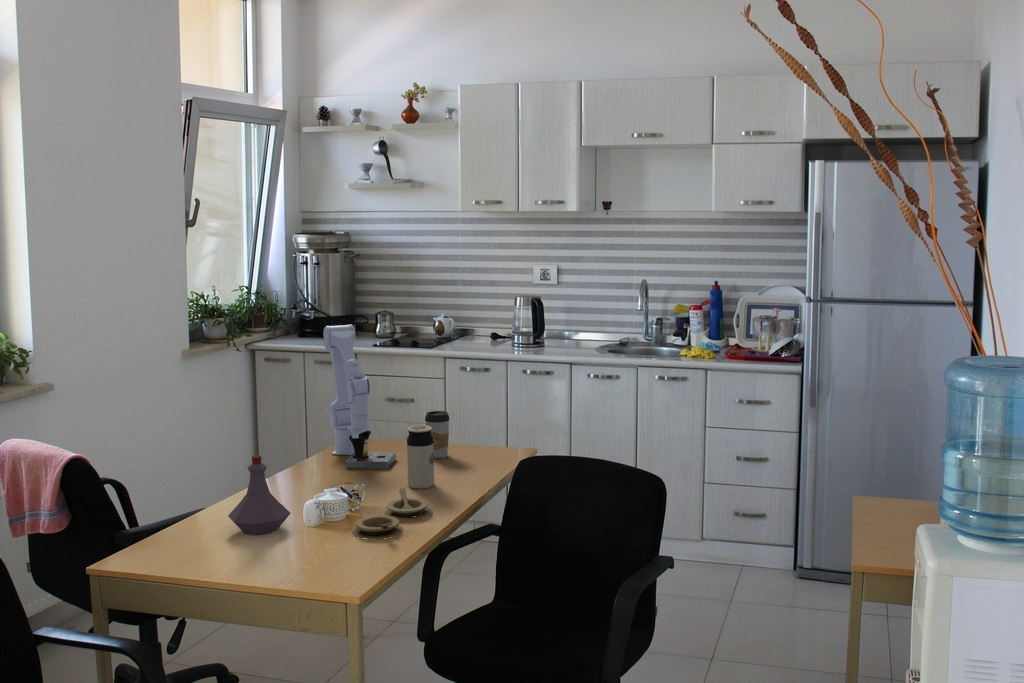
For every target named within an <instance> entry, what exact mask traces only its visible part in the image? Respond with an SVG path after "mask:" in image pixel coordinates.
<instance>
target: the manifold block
mask: <svg viewBox="0 0 1024 683" xmlns="http://www.w3.org/2000/svg"><path fill="white" fill-rule="evenodd" d="M396 454H397V453H396V452H386V451H385V452H382V451H381V452H380V451H379V452H378V451H377V452H376V451H375V452H374V451H372V452H371V451H368V458H363V459H356V455H355V452H354V453H353V454H352V455H349V457H348V458H347V459H346V460H345V461H344V463H345V466H344V467H345V469H346V470H347V469H349V470H350V469H352V470H355V469H356V470H389V469H390V467H391V466H393V464H394V463H393V462H395V461H396V460H397V458H396V457H397V456H396Z"/></svg>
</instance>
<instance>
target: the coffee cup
mask: <svg viewBox="0 0 1024 683" xmlns="http://www.w3.org/2000/svg"><path fill="white" fill-rule="evenodd" d="M424 421H425V426H430V427H432V430H431V435H432V437H433V451H434V458H442V457H446V456H448V455H449V454H448V451H449V436H450V432H449V429H450V428H449V427H450V426H449V425H450V415H449V412H448V411H444V410H433V411H432V410H431V411H428V412H426V414H425V417H424ZM446 458H447V457H446ZM442 459H443V458H442Z"/></svg>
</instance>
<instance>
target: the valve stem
mask: <svg viewBox="0 0 1024 683" xmlns="http://www.w3.org/2000/svg"><path fill="white" fill-rule="evenodd" d="M368 452H369V439H366V440H365V444H364V451H363V456H362V457H356V459H363V458H368Z"/></svg>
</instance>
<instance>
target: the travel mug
mask: <svg viewBox="0 0 1024 683" xmlns="http://www.w3.org/2000/svg"><path fill="white" fill-rule="evenodd" d="M431 430H432V427H430V426H426V424H423V425H411V426H409V427H407V432H408V435H407V437H406V452H407V453H406V457H407V461H406V462H407V486H408V487H410V488H411V489H416V488H417V490H423V488H425V489H430V488H431V486H432V487H433V486H434V485H435V467H434V466H435V462H434V451H433V437H432V435H431Z"/></svg>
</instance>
